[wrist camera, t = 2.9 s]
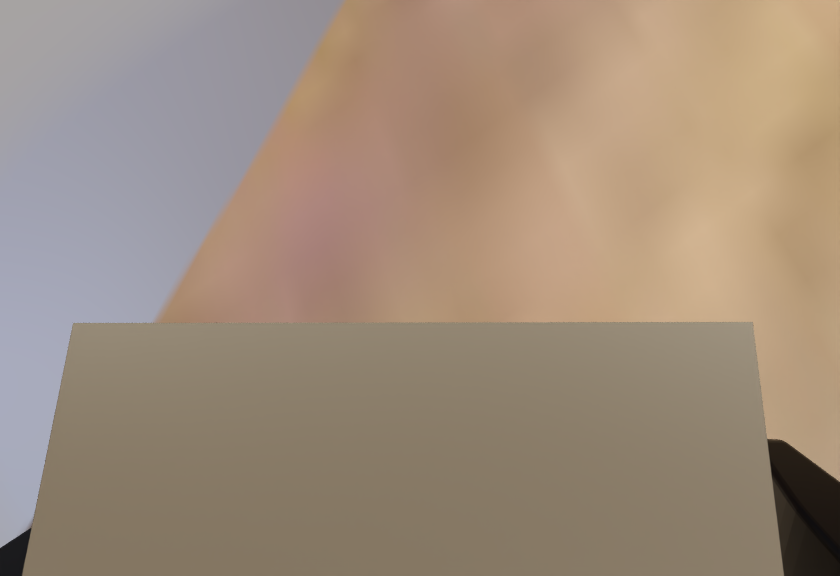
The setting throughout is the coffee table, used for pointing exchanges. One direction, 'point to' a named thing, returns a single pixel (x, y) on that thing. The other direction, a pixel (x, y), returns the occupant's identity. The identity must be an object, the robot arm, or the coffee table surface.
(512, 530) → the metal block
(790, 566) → the robot arm
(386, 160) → the coffee table surface
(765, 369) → the coffee table surface
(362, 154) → the coffee table surface
